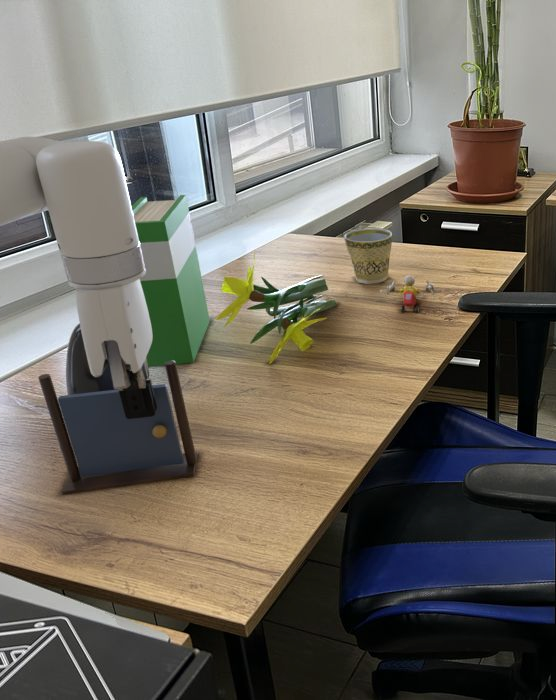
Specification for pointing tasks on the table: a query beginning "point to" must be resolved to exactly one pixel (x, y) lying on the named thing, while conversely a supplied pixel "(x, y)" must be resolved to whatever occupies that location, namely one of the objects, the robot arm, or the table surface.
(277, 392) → the table surface
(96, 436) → the door
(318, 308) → the daffodil flowers
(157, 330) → the hardback book
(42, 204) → the robot arm
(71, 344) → the dark grey rounded dome
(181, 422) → the door frame
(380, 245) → the ceramic cup
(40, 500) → the table surface
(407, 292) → the toy airplane
